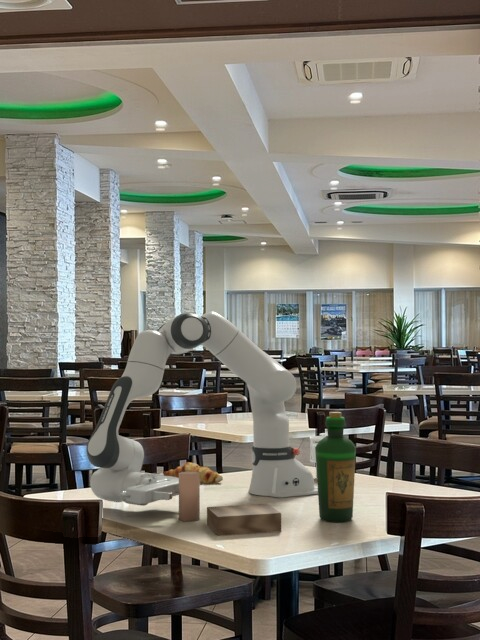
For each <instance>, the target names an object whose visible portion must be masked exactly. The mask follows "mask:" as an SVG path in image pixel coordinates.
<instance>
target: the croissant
mask: <svg viewBox="0 0 480 640" xmlns="http://www.w3.org/2000/svg"><path fill="white" fill-rule="evenodd" d="M181 472H199V473H200V485H201V484H205V485H206V484H212V483H213V484H217V483H221V482H222V481H223V480H224V478H223V476H222V475H220V474H219V473H218V472H217V471H213V470H211V468H209V467H208V466H200V465H199V464H197V463H195V462H189V461H186V462H185V463H184V464H183V466H180V465H179V466H177V467H176V468H175V469H169V470H168V471H166V470H165V471H163V472H162V473H163V474H164V476H171V477H177V478H179V473H181Z"/></svg>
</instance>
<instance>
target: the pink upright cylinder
mask: <svg viewBox="0 0 480 640" xmlns="http://www.w3.org/2000/svg"><path fill="white" fill-rule="evenodd" d="M200 487H201V484H200V473H199V472H181V473H179V495H178V521H181V522H195V521H200V518H201V516H200V514H201V513H200V506H201V505H200V504H201V503H200V500H201V498H200V495H201V494H200V493H201V489H200Z"/></svg>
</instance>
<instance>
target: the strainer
mask: <svg viewBox="0 0 480 640" xmlns="http://www.w3.org/2000/svg"><path fill="white" fill-rule="evenodd" d="M318 434H319V435H315V436H309V441H310V442H309V443H310V444H309V445H310V446H309V447H310V448H309V449H310V450H309V452H310V453H309V454H310V457H309V462H310V463H313V464H316V452H315V447H316V445H317V444H318V442H319V441H320V440H322V439H323V438H324V437H326V436H327V433H326V432H322V433H318ZM315 479H317V468H316V467H315Z"/></svg>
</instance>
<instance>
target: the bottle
mask: <svg viewBox="0 0 480 640" xmlns="http://www.w3.org/2000/svg"><path fill="white" fill-rule="evenodd" d="M328 414H329V416H326V418H325V423H324V424H325V425H324V426H325V427H326V428H327V429H326V430H327V435H326V437H324V438H323V439H322V440H320V441H319V442H317V443H318V444H317V445H316V447H315V452H316V463H315V469H316V468H317V478H316V483H317V486H318V494H317V495H318V512H319V514H318V515H319V518H320V519H321V520H323V521H325V522H329V523H345V522H349V521H351V520H352V519H353V518H354V517H353V515H354V496H355V495H354V493H355V474H356V473H355V471H356V453H357V446H356V445H355V444H354V442H353V441H352V440H351V439H349V438H348V437H346V436H344V429H345V427H347V425H346V420H345V416H342V412H341V411H329V413H328Z"/></svg>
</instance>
